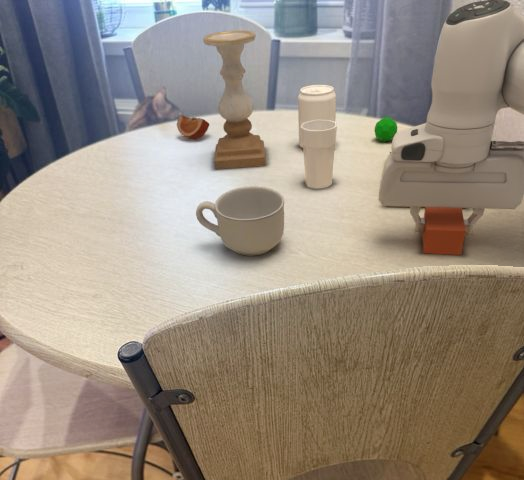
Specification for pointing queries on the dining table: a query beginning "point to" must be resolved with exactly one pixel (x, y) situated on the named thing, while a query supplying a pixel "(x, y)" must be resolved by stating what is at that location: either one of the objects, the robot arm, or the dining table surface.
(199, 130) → the fruit slice
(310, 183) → the cup
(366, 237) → the dining table surface
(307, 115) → the beverage can
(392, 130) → the polyhedron
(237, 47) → the candle holder
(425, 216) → the orange block
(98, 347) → the dining table surface
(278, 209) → the teacup
